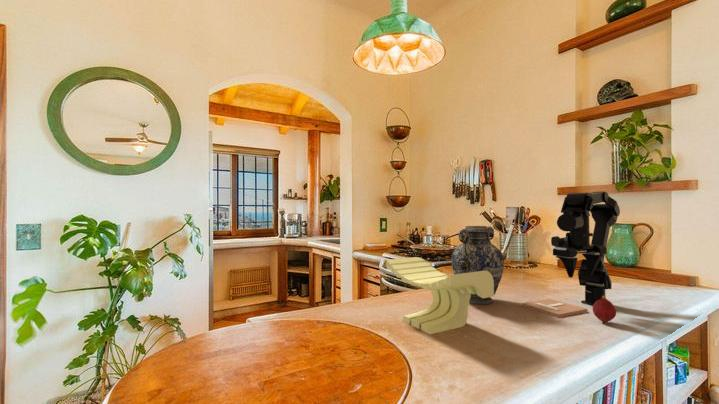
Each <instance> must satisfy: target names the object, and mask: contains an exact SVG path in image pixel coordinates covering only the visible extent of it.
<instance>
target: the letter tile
mask: <svg viewBox="0 0 719 404" xmlns="http://www.w3.org/2000/svg"><path fill="white" fill-rule="evenodd" d="M521 306H522V307H525V308H526V309H530V310H533V311H536V312H541V313H543V314H546V315H549V316H552V317H555V318H563V317H568V316H573V315H578V314H585V313H588V308H586V307H582V306H579V305H574V304H571V303H567V302H562V301H560V300H556V299H552V298H545V299H538V300H533V301H532V300H531V301H526V302H521Z"/></svg>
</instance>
